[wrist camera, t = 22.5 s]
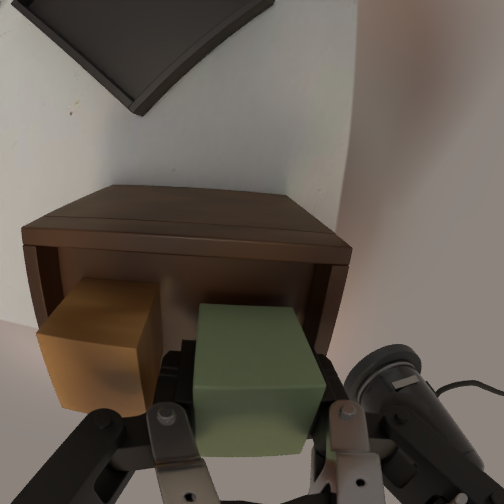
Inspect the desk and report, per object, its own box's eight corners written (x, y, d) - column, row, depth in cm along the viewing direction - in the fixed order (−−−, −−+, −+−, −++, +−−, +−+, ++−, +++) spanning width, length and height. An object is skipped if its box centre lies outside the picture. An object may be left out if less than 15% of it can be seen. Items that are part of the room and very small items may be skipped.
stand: (286, 195, 24) (353, 247, 12) (271, 306, 27) (306, 417, 15) (112, 184, 22) (20, 227, 10) (116, 296, 25) (62, 399, 13)
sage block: (292, 306, 13) (327, 385, 8) (279, 374, 14) (300, 454, 10) (199, 302, 13) (192, 386, 8) (198, 372, 14) (195, 457, 9)
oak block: (160, 283, 14) (136, 348, 9) (163, 351, 15) (149, 423, 10) (82, 276, 13) (35, 333, 8) (93, 343, 14) (61, 408, 10)
